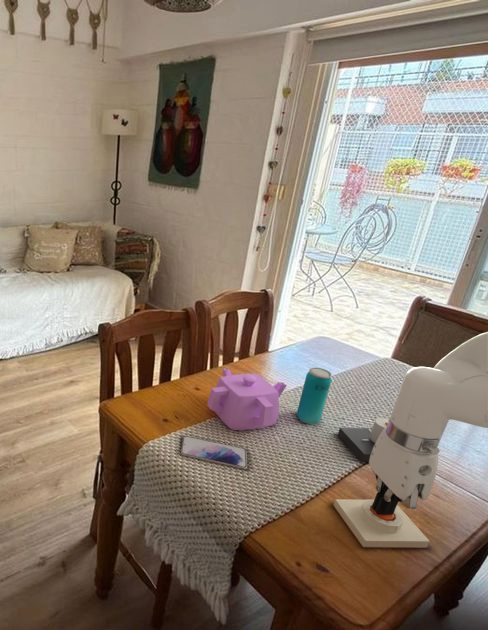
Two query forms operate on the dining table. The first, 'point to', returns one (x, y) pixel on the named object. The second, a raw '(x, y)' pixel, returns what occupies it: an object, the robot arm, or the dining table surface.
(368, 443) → the panel
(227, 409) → the teakettle
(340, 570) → the dining table surface
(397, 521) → the block
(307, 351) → the dining table surface
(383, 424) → the timer knob
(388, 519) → the button
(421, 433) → the robot arm
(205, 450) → the smartphone
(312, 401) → the beverage can
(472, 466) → the dining table surface
